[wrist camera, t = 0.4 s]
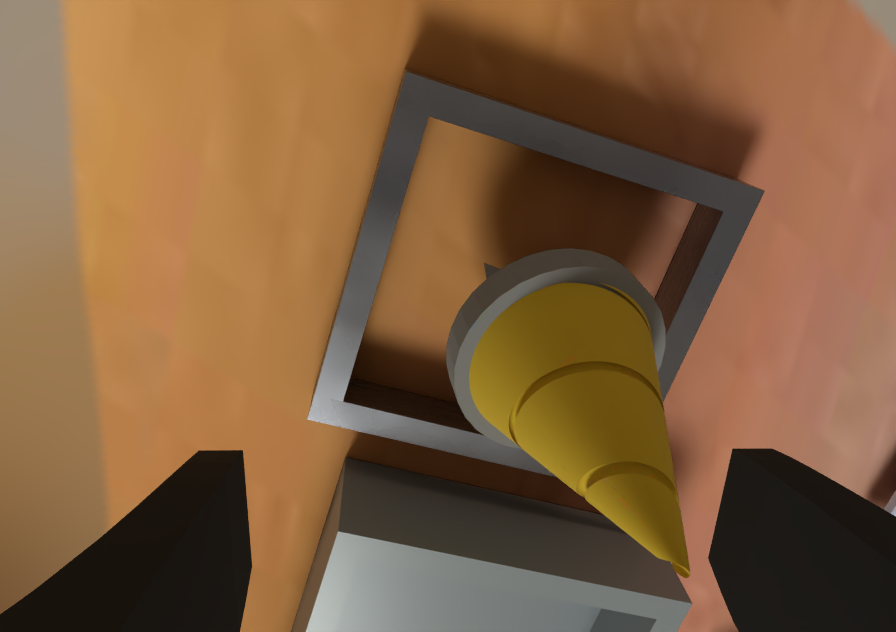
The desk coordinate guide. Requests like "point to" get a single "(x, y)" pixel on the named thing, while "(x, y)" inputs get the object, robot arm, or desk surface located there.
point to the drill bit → (575, 384)
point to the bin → (477, 563)
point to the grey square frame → (422, 96)
